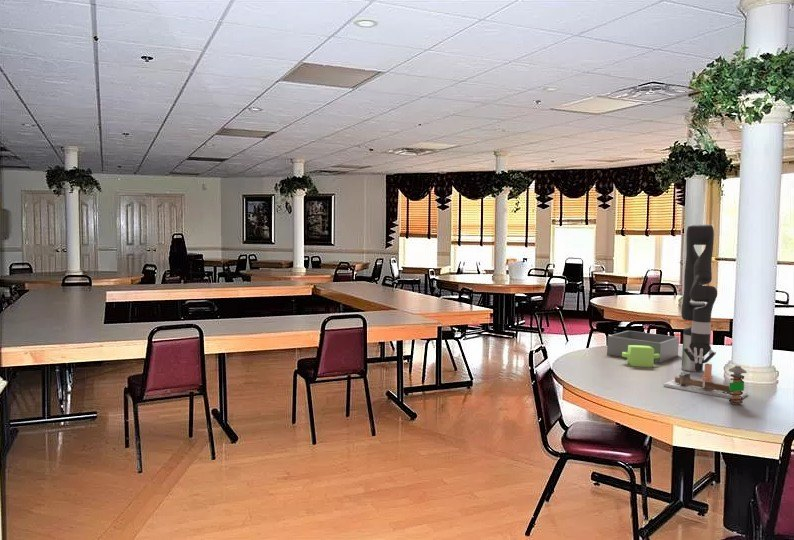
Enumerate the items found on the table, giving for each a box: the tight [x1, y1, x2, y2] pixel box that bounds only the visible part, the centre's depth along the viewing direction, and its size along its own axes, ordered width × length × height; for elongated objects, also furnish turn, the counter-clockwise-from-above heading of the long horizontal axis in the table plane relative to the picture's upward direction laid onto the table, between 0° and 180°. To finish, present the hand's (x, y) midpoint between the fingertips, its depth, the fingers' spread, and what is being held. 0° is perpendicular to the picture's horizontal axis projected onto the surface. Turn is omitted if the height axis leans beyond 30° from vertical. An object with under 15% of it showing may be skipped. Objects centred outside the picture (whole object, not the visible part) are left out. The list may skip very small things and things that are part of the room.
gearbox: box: [622, 345, 660, 368], centre depth 319 cm, size 18×10×10 cm, turn 84°
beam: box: [674, 371, 741, 393], centre depth 270 cm, size 8×26×4 cm, turn 48°
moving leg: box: [701, 362, 714, 388], centre depth 270 cm, size 8×3×9 cm, turn 138°
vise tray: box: [606, 330, 680, 364], centre depth 344 cm, size 28×28×10 cm
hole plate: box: [663, 378, 749, 399], centre depth 270 cm, size 12×30×1 cm, turn 48°
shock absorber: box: [728, 365, 748, 406], centre depth 250 cm, size 6×6×15 cm
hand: (698, 371), depth 274 cm, fingers closed
